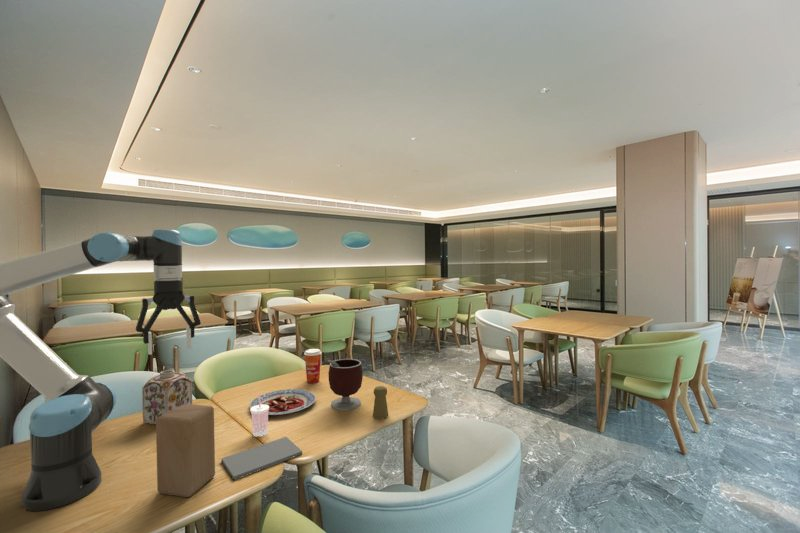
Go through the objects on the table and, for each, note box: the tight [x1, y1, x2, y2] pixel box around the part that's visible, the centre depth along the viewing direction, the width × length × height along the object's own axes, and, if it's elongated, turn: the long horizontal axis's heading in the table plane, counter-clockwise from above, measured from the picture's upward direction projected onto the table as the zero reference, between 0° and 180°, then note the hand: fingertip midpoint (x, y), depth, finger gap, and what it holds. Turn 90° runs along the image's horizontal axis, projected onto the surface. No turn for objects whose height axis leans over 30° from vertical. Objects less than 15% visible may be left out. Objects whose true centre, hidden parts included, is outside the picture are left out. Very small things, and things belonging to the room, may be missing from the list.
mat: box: [220, 436, 303, 480], centre depth 111 cm, size 20×12×1 cm, turn 130°
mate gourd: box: [326, 358, 364, 411], centre depth 150 cm, size 16×14×20 cm
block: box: [155, 403, 216, 498], centre depth 97 cm, size 10×10×20 cm
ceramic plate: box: [249, 388, 317, 416], centre depth 150 cm, size 26×26×3 cm
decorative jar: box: [141, 369, 193, 425], centre depth 138 cm, size 12×12×18 cm
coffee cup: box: [303, 348, 322, 384], centre depth 179 cm, size 8×8×15 cm
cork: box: [372, 385, 389, 420], centre depth 140 cm, size 6×6×11 cm
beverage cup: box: [249, 392, 269, 437], centre depth 126 cm, size 6×6×14 cm
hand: (170, 350), depth 114 cm, fingers open, 10 cm apart
